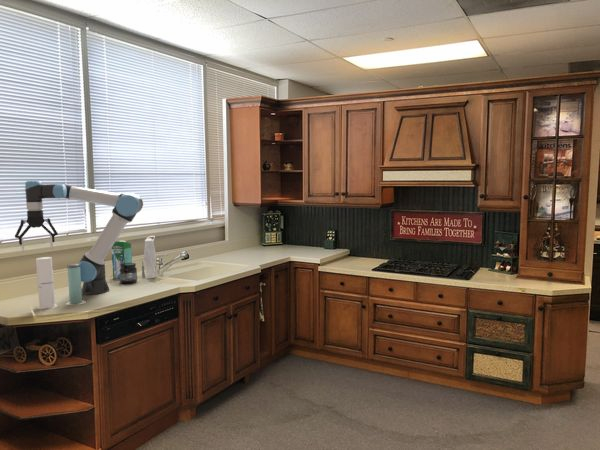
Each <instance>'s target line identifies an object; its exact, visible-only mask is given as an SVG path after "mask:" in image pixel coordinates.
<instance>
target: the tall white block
mask: <svg viewBox="0 0 600 450" xmlns="http://www.w3.org/2000/svg"><path fill="white" fill-rule="evenodd" d="M35 265H36V277H37V278H36V280H37V293H38V306H39V308H51V307H54V306H55V304H56V302H55V300H56V299H55V298H56V297H55V286H54V284H55V283H54V273H53V271H54V269H53V258H52V256H44V257H37V258H35ZM51 309H52V308H51Z"/></svg>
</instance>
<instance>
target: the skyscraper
mask: <svg viewBox="0 0 600 450" xmlns="http://www.w3.org/2000/svg"><path fill="white" fill-rule="evenodd" d="M151 237H153V239H152V238H151ZM155 238H156V236H155V235H150V236H149V235H148V236H147V237H146V239H144V249H143V259H142V265H141V271H142V272H141V276H142V277H141V278H142V279H146V280H149V279H154V278H155V279H156V278H157V277H158V276H157V273H156V270H155V268H156V263H157V262H156V260H157V255H156V254H157V253H156V247H155V243H154V242H155ZM144 264H145V265H144ZM145 268H146V272H145Z"/></svg>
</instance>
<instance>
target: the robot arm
mask: <svg viewBox="0 0 600 450" xmlns="http://www.w3.org/2000/svg"><path fill="white" fill-rule="evenodd" d="M24 185H25V187H24V188H25V189H24V192H25V199H26V201H25V202H26V210H27V211H26V217H27V219H20V225H19V227H18V228H17V230H16V233H15V235H14V237H15V239H18V244H19V246H21V249H22V252H25V245H24V238H23V237H24V236H25V235H26V233H27V232H28V231H29V230H30V229H31V228H43V229H44V230H45V231H46V232H47V233H48V234H49V235H50V236H49V241H50V243H49V244H50V249H51V250H53V249H54V247H53V244H54V243H55V237H56V236H58V235H59V233H58V231H57V229H56V228H55V227H54V225H53V223H52V221H51V218H49V217H48V218H45V217H44V211H43V209H44V206H43V199H44V200H45V199H59V200H60V199H67V200H74V201H78V202H79V201H80V202H84V203H91V204H96V205H97V204H98V205H103V206H109V207H112V208H113V207H114V208H113V209H112V210H111V213H112V215H111V217H110V219H109V220H108V222H107V224H106V225H105V226H104V228H103V230H102V231H101V232H100V234H99V236H98V238H97V239H96V241H95V243H94V244H92V247H91V249H90V250H89V251H87V252H85V253H84V254H83V255H82V256H81V259H79V262H76V264H80V265H81V266H80V272H81V283H82V285H81V289H82V295H85V296H91V295H92V296H93V295H95V296H96V295H101V294H105V293H109V292H110V287H109V285H108V282H107V280H106V262H105V261H106V259H105V258H106V257H107V255H108V253H110V251H111V250H112V246H113V245H114V243H115V241H117V240H118V238H119V237H120V235H121V234H122V232H123V230H124V229H125V228H126V225H127V224H128V223H129V224H130V223H132V222H133V220H134V219H135V217H136V215H137V214H138V213H140V212H141V211H142V209H143V206H144V202H143V199H142V197H141V196H140V195H138V194H136V193H131V192H130V193H125V192H119V193H115V192H110V191H105V190H104V191H103V190H98V189H92V188H86V187H81V186H75V185H74V186H73V185H68V184H66V183H57V184H56V183H55V184H54V183H53V184H42V181H41V180H27V181H26V182H25V184H24ZM26 223H27V224H28V225H27V226H26V227H25V229H24V230H23V231H22V232H21V230H22V229H23V226H24V225H25V224H26ZM44 223H47V224H48V225H49V227H50V229H51V230H52V231H51V230H50V229H49V228H48V227H46V226H45V225H44Z"/></svg>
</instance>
